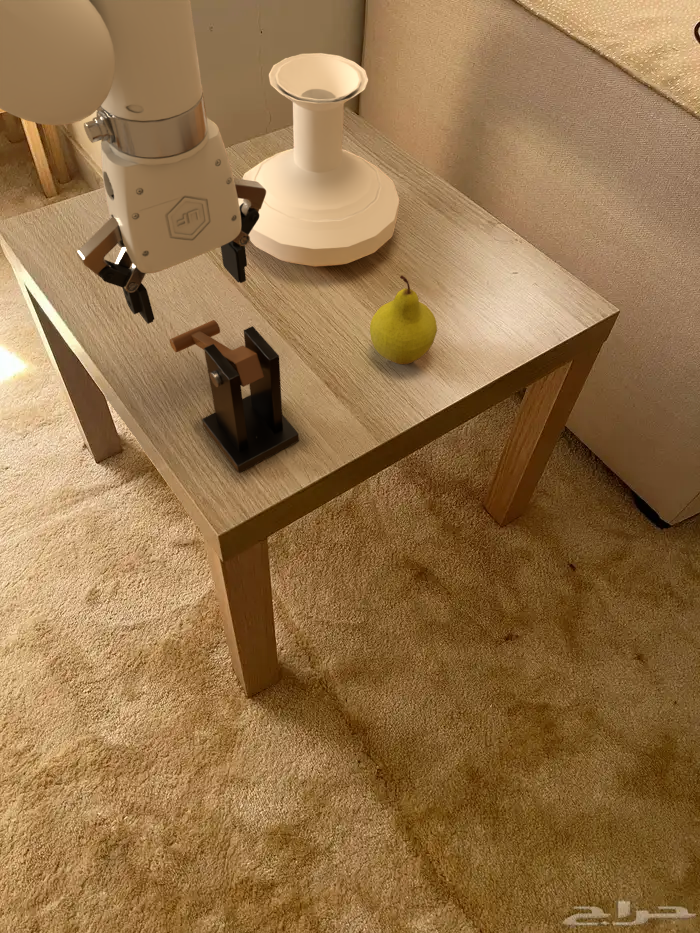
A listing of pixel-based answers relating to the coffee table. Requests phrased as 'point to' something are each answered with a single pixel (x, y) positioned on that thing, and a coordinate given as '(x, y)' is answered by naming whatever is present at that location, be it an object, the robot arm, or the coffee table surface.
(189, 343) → the lever
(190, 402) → the coffee table surface
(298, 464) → the coffee table surface
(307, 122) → the white vase
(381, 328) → the fruit
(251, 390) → the bracket
